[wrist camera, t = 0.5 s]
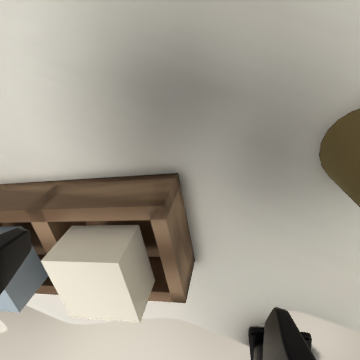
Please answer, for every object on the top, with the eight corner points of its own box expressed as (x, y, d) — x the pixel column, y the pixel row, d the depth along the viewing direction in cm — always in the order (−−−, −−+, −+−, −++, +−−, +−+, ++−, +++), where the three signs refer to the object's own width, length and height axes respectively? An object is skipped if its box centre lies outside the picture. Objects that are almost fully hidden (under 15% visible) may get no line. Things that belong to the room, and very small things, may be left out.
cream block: (155, 280, 24) (139, 323, 20) (94, 277, 25) (70, 317, 22) (138, 224, 21) (118, 263, 18) (71, 225, 23) (40, 261, 19)
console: (194, 260, 28) (185, 303, 24) (19, 256, 34) (-14, 290, 29) (177, 173, 23) (162, 205, 19) (-22, 185, 29) (-68, 212, 25)
